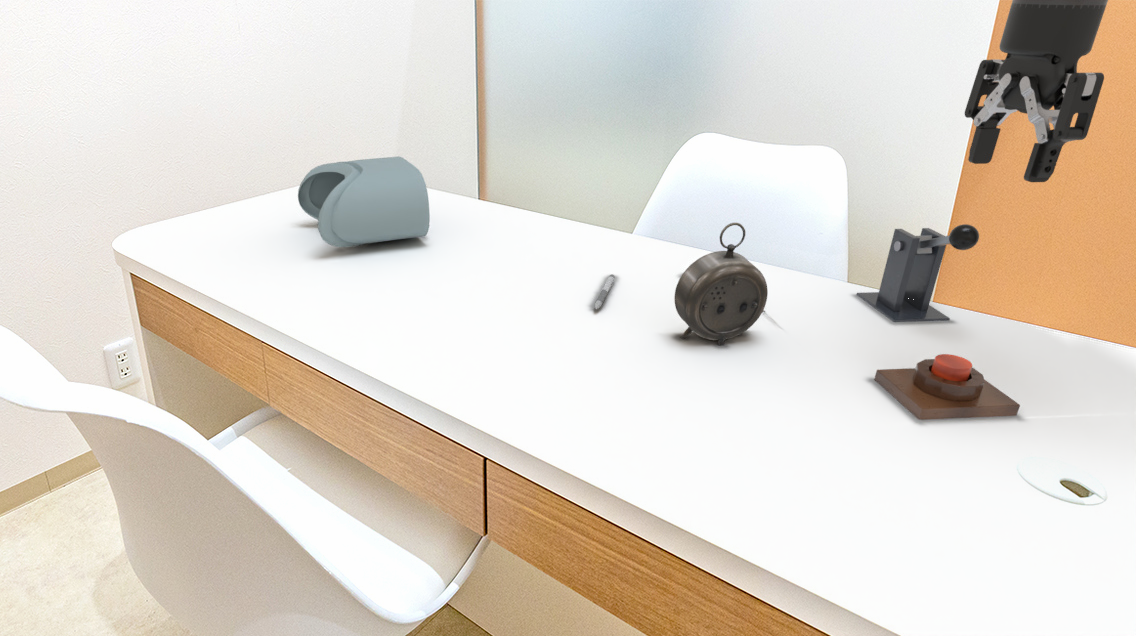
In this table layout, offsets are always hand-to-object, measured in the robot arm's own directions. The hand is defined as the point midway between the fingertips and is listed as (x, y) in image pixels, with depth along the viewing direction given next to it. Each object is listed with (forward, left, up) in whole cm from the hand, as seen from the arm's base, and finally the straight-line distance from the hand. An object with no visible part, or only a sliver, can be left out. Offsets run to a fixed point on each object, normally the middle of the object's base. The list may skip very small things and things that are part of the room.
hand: (1005, 171), depth 78 cm
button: (+4, +6, -21) cm, 22 cm away
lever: (-6, -14, -14) cm, 21 cm away
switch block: (+4, +6, -25) cm, 26 cm away
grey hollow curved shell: (+73, -60, -25) cm, 98 cm away
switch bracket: (-6, -19, -25) cm, 32 cm away
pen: (+35, -28, -25) cm, 51 cm away
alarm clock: (+24, -11, -25) cm, 36 cm away
